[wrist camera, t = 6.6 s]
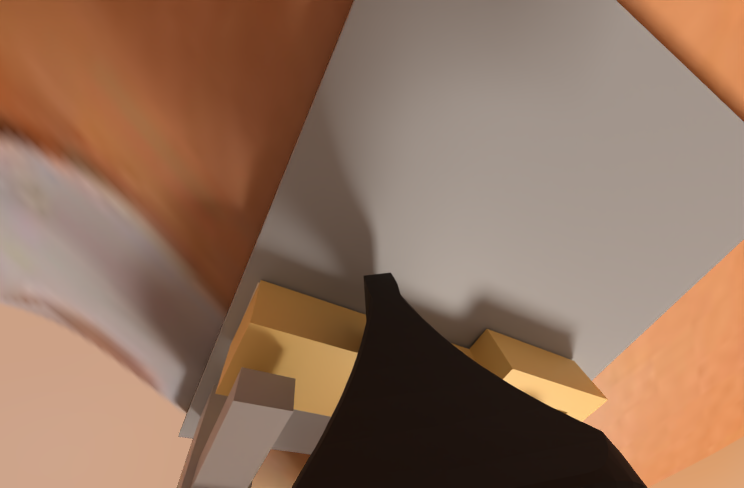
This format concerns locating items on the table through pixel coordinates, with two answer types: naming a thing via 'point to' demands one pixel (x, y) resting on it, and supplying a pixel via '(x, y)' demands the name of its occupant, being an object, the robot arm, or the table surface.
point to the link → (342, 342)
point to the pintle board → (484, 195)
